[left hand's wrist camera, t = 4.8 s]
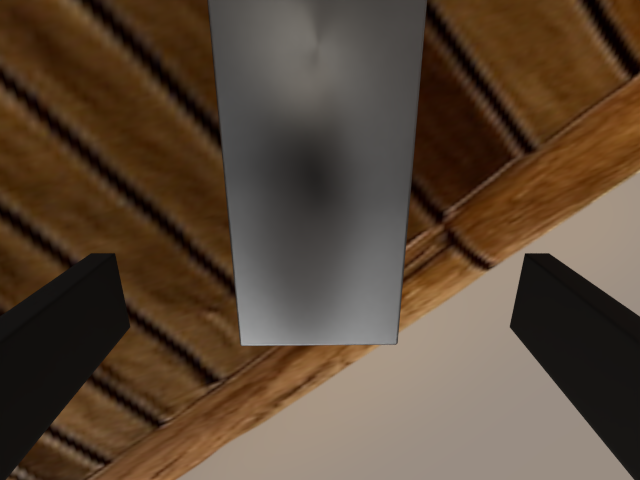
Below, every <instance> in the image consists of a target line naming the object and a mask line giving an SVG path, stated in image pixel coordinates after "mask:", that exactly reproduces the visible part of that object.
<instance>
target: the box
mask: <svg viewBox="0 0 640 480" xmlns="http://www.w3.org/2000/svg"><path fill="white" fill-rule="evenodd" d="M426 5H427V0H208V11H209V21H210V32H211V42H212V53H213V63H214V74H215V84H216V95H217V105H218V116H219V126H220V137H221V147H222V158H223V168H224V178H225V189H226V199H227V210H228V220H229V231H230V241H231V252H232V262H233V273H234V283H235V294H236V304H237V315H238V325H239V336H240V344H241V346H273V345H396V344H397V343H398V331H399V320H400V308H401V296H402V285H403V273H404V261H405V250H406V238H407V227H408V215H409V203H410V192H411V180H412V168H413V157H414V145H415V133H416V122H417V110H418V98H419V87H420V75H421V64H422V52H423V40H424V29H425V17H426Z"/></svg>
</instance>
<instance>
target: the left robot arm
mask: <svg viewBox="0 0 640 480" xmlns="http://www.w3.org/2000/svg"><path fill="white" fill-rule="evenodd" d="M129 328H130V323H129V319H128V314H127V309H126V304H125V299H124V294H123V290H122V285H121V280H120V275H119V270H118V266H117V261H116V256H115V253H91V254H90V255H88V256H87V257H85V258H84V259H82V260H81V261H80V262H78V263H77V264H75V265H74V266H72V267H71V268H69V269H68V270H67V271H65V272H64V273H62V274H61V275H59V276H58V277H57V278H55V279H54V280H52V281H51V282H49V283H48V284H46V285H45V286H44V287H42V288H41V289H39V290H38V291H36V292H35V293H33V294H32V295H31V296H29V297H28V298H26V299H25V300H23V301H22V302H21V303H19V304H18V305H16V306H15V307H13V308H12V309H10V310H9V311H8V312H6V313H5V314H3V315H2V316H0V480H6V479H7V477H8V476H9V475H10V474H11V473H12V471H13V470H14V469H15V468H16V466H17V465H18V464H19V463H20V461H21V460H22V459H23V458H24V457H25V455H26V454H27V453H28V452H29V450H30V449H31V448H32V447H33V446H34V444H35V443H36V442H37V441H38V439H39V438H40V437H41V436H42V435H43V433H44V432H45V431H46V430H47V428H48V427H49V426H50V425H51V423H52V422H53V421H54V420H55V419H56V417H57V416H58V415H59V414H60V412H61V411H62V410H63V409H64V408H65V406H66V405H67V404H68V403H69V401H70V400H71V399H72V398H73V397H74V395H75V394H76V393H77V392H78V390H79V389H80V388H81V387H82V385H83V384H84V383H85V382H86V381H87V379H88V378H89V377H90V376H91V374H92V373H93V372H94V371H95V370H96V368H97V367H98V366H99V365H100V363H101V362H102V361H103V360H104V359H105V357H106V356H107V355H108V354H109V352H110V351H111V350H112V349H113V347H114V346H115V345H116V344H117V343H118V341H119V340H120V339H121V338H122V336H123V335H124V334H125V333H126V332H127V330H128V329H129ZM510 328H511V329H512V330H513V332H514V333H515V334H516V335H517V336H518V338H519V339H520V340H521V341H522V343H523V344H524V345H525V346H526V347H527V349H528V350H529V351H530V352H531V354H532V355H533V356H534V357H535V359H536V360H537V361H538V362H539V363H540V365H541V366H542V367H543V368H544V370H545V371H546V372H547V373H548V374H549V376H550V377H551V378H552V379H553V381H554V382H555V383H556V384H557V385H558V387H559V388H560V389H561V390H562V392H563V393H564V394H565V395H566V397H567V398H568V399H569V400H570V401H571V403H572V404H573V405H574V406H575V408H576V409H577V410H578V411H579V412H580V414H581V415H582V416H583V417H584V419H585V420H586V421H587V422H588V423H589V425H590V426H591V427H592V428H593V430H594V431H595V432H596V433H597V434H598V436H599V437H600V438H601V439H602V441H603V442H604V443H605V444H606V446H607V447H608V448H609V449H610V450H611V452H612V453H613V454H614V455H615V457H616V458H617V459H618V460H619V461H620V463H621V464H622V465H623V466H624V468H625V469H626V470H627V471H628V473H629V474H630V475H631V476H632V477H633V479H634V480H640V316H638V315H637V314H635V313H634V312H632V311H631V310H630V309H628V308H627V307H625V306H624V305H622V304H621V303H619V302H618V301H617V300H615V299H614V298H612V297H611V296H609V295H608V294H607V293H605V292H604V291H602V290H601V289H599V288H598V287H596V286H595V285H594V284H592V283H591V282H589V281H588V280H586V279H585V278H583V277H582V276H581V275H579V274H578V273H576V272H575V271H573V270H572V269H570V268H569V267H568V266H566V265H565V264H563V263H562V262H560V261H559V260H558V259H556V258H555V257H553V256H552V255H550V254H549V253H543V254H542V253H540V254H539V253H538V254H537V253H530V254H529V253H527V254H525V256H524V261H523V266H522V270H521V275H520V280H519V285H518V290H517V294H516V299H515V304H514V309H513V314H512V319H511V323H510Z"/></svg>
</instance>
